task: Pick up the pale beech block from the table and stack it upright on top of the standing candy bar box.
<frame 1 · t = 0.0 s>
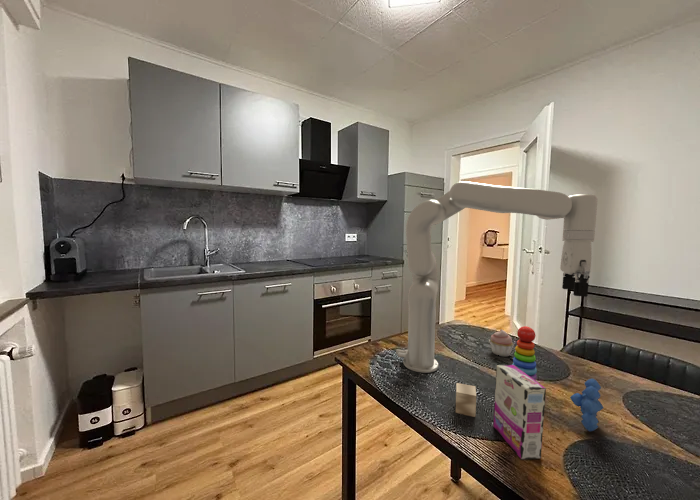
hand: (574, 292, 88), 31 cm above the table, tool pointing down, fingers open, 9 cm apart
stacking toy: (522, 383, 95), on the table
beech block: (465, 409, 81), on the table
grapes: (584, 424, 75), on the table
cupcake: (500, 353, 117), on the table
candy bar box: (515, 442, 69), on the table
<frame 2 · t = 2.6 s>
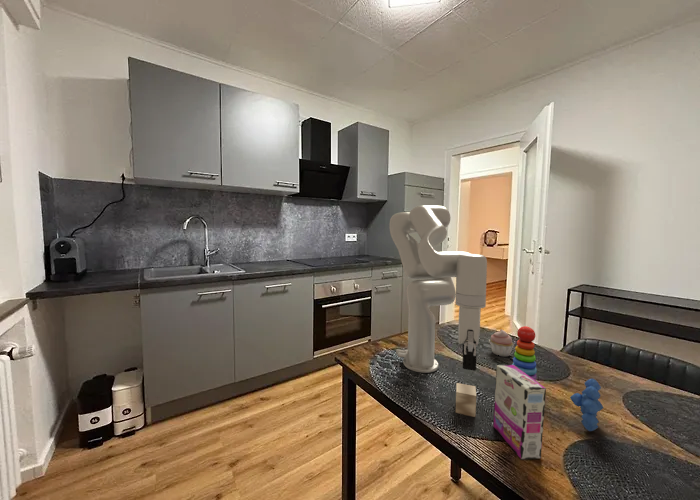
hand: (468, 361, 79), 14 cm above the table, tool pointing down, fingers open, 9 cm apart
nothing on the table moved.
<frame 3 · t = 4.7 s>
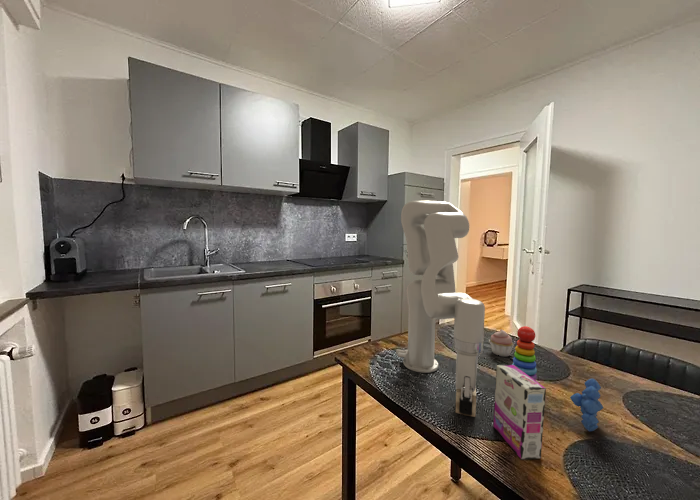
hand: (465, 406, 81), 1 cm above the table, tool pointing down, fingers closed on beech block, 5 cm apart
beech block: (465, 409, 81), on the table, touching gripper
everything else where it was.
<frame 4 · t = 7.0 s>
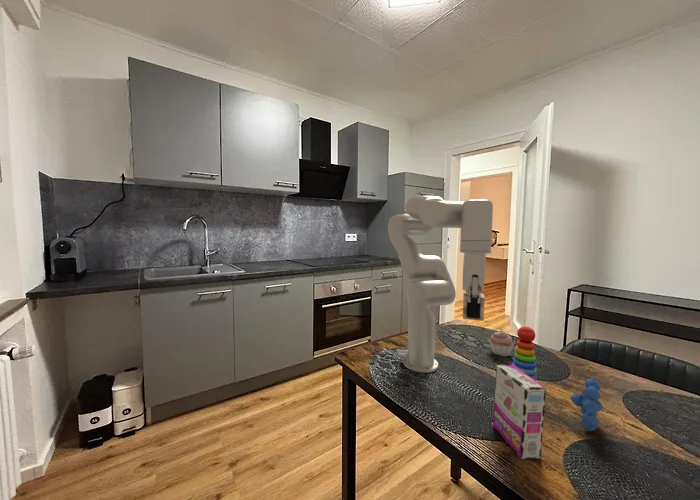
hand: (472, 314, 78), 28 cm above the table, tool pointing down, fingers closed on beech block, 4 cm apart
beech block: (472, 316, 78), point 27 cm above the table, touching gripper
everything else where it was.
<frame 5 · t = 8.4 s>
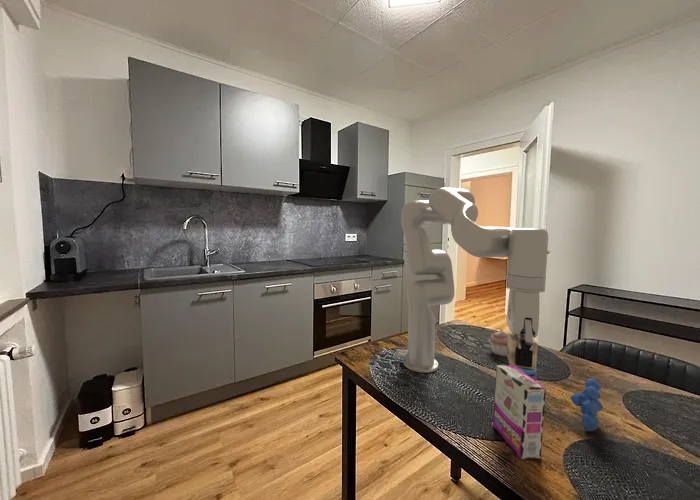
hand: (520, 359, 67), 20 cm above the table, tool pointing down, fingers closed on beech block, 4 cm apart
beech block: (520, 362, 67), point 20 cm above the table, touching gripper
everything else where it was.
when the fingers open (18 cm above the table, at t = 9.2 s): beech block stays where it is, resting on candy bar box.
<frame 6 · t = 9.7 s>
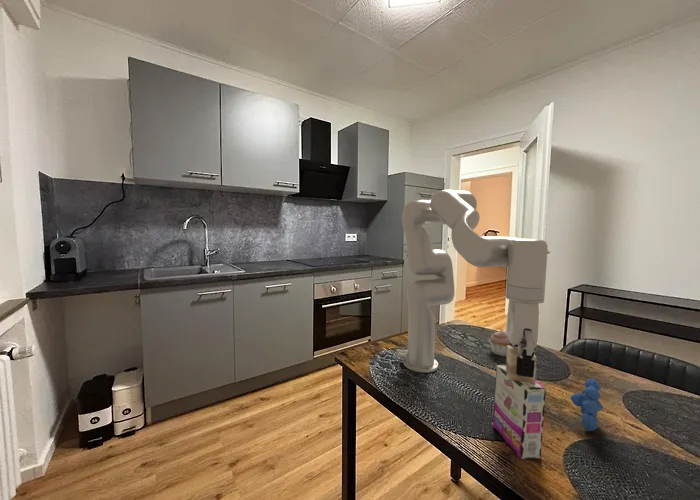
hand: (520, 365, 67), 19 cm above the table, tool pointing down, fingers open, 9 cm apart
beech block: (519, 375, 67), point 16 cm above the table, touching candy bar box
candy bar box: (515, 442, 69), on the table, touching beech block
everything else where it was.
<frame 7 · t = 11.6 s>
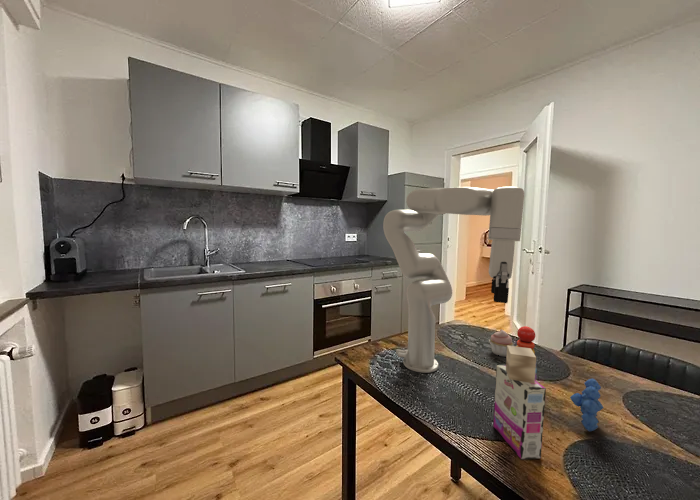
hand: (498, 297, 79), 32 cm above the table, tool pointing down, fingers open, 9 cm apart
nothing on the table moved.
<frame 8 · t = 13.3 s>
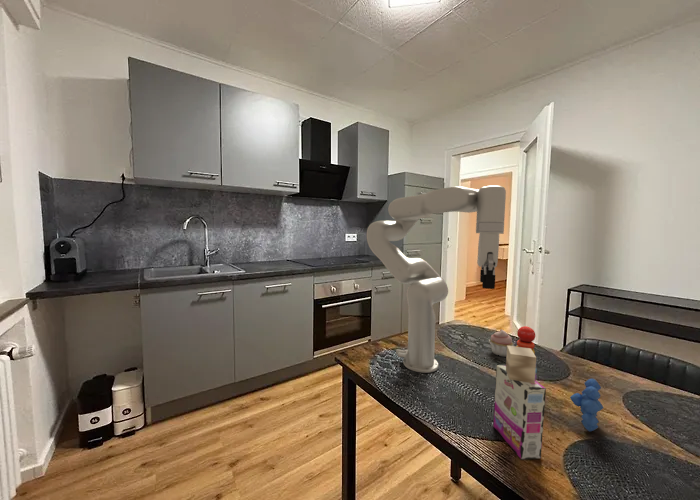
hand: (486, 285, 88), 33 cm above the table, tool pointing down, fingers open, 9 cm apart
nothing on the table moved.
at the end: beech block inside the target area on the candy bar box (0.3 cm from its centre), point 16.6 cm above the candy bar box's base; beech block tilted 0°; candy bar box tilted 0° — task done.
